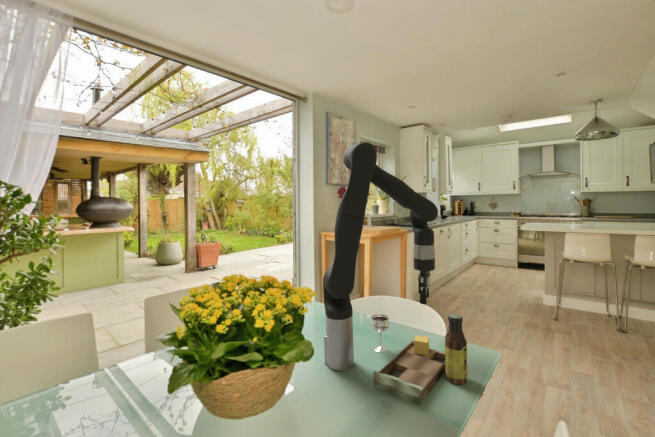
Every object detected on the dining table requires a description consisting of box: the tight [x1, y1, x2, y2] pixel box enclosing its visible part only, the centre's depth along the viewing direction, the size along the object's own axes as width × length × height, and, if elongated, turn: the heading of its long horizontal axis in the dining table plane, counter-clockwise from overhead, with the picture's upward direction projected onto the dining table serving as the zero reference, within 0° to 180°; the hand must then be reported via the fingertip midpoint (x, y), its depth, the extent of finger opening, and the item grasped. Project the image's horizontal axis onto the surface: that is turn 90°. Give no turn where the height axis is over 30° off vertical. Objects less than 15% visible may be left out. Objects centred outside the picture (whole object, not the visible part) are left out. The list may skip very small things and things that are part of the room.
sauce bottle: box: [444, 313, 468, 385], centre depth 93 cm, size 7×6×20 cm
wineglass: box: [370, 313, 390, 353], centre depth 113 cm, size 7×7×12 cm
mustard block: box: [413, 334, 430, 356], centre depth 107 cm, size 4×4×4 cm
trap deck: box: [372, 340, 445, 406], centre depth 98 cm, size 14×28×4 cm, turn 141°
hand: (424, 300), depth 113 cm, fingers open, 7 cm apart
